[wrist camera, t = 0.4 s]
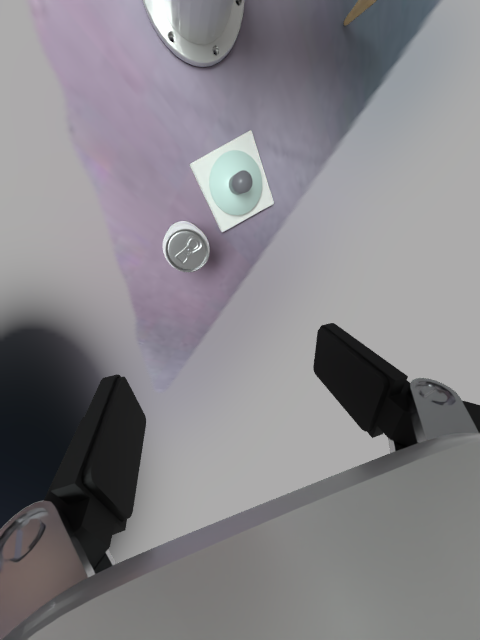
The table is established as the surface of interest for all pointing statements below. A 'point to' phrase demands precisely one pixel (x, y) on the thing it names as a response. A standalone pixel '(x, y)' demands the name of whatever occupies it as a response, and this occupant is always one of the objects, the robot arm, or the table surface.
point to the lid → (235, 182)
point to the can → (186, 247)
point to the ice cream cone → (358, 10)
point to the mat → (202, 174)
